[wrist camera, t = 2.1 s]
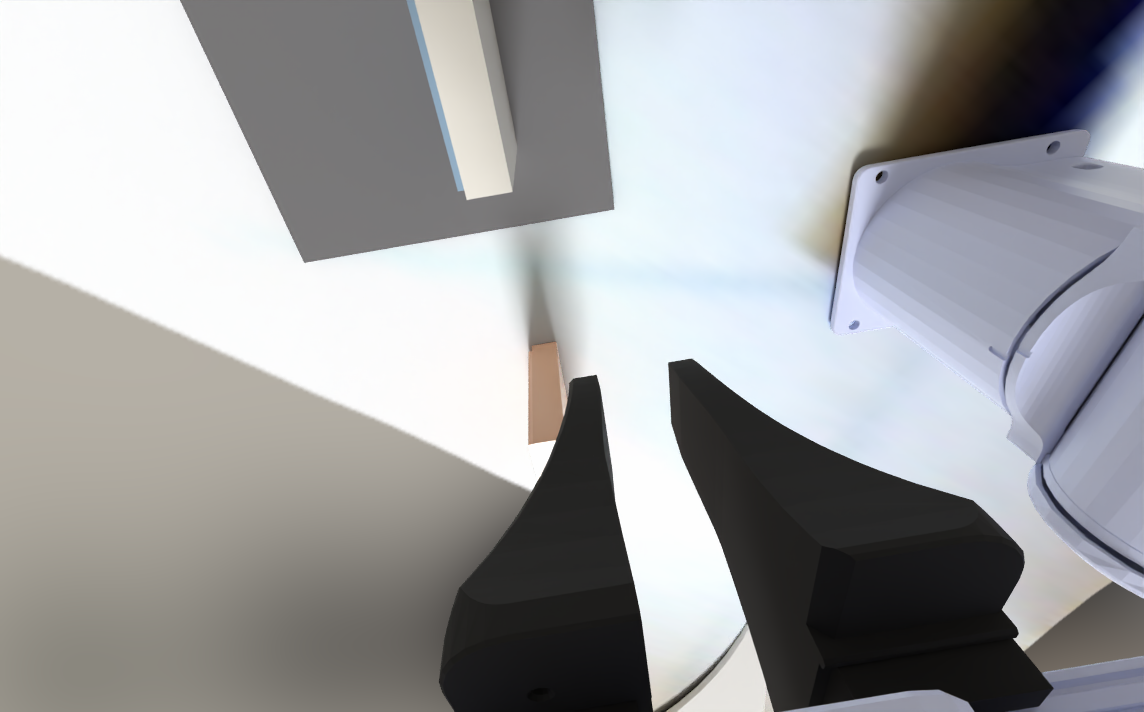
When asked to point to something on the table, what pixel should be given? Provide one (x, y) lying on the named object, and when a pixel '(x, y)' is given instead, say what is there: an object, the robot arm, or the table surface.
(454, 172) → the glazed tile
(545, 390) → the terracotta tile
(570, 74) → the mat
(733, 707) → the corner molding
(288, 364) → the table surface
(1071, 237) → the robot arm
